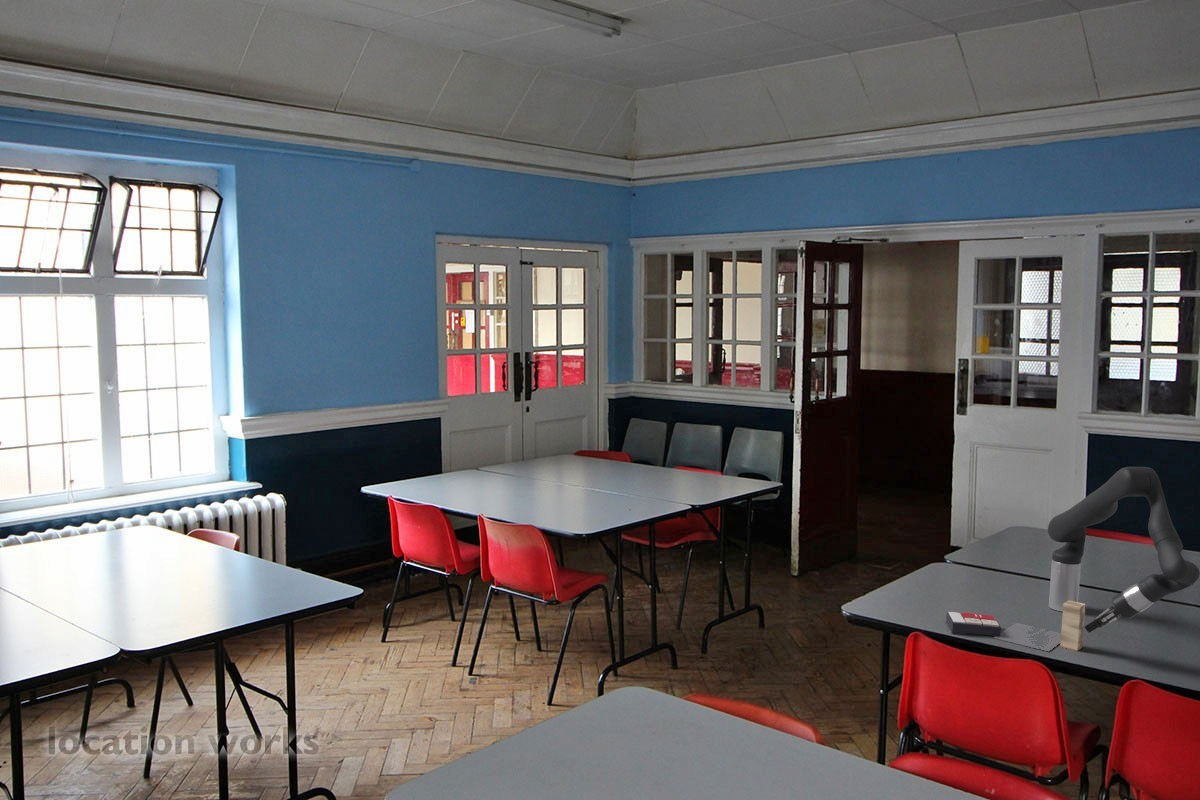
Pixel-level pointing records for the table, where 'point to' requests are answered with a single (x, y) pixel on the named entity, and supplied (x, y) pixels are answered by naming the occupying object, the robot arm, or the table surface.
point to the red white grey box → (972, 624)
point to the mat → (1019, 632)
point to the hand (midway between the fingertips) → (1087, 629)
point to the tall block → (1072, 625)
